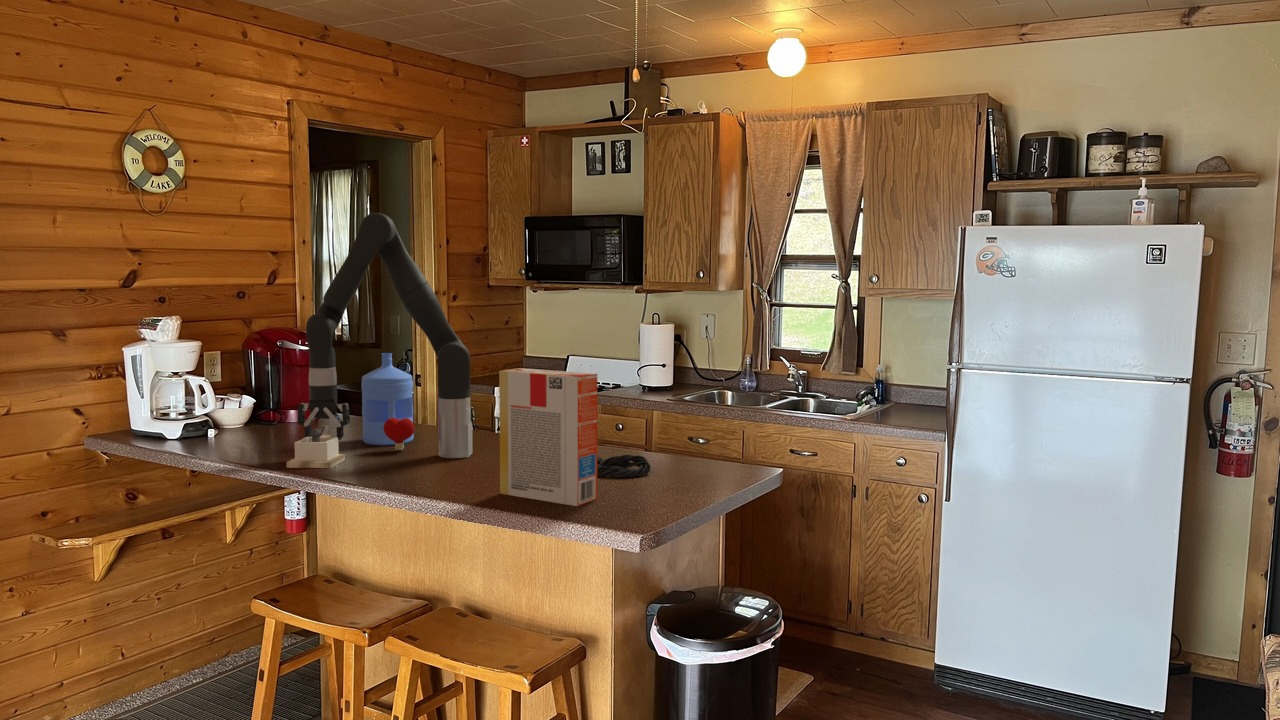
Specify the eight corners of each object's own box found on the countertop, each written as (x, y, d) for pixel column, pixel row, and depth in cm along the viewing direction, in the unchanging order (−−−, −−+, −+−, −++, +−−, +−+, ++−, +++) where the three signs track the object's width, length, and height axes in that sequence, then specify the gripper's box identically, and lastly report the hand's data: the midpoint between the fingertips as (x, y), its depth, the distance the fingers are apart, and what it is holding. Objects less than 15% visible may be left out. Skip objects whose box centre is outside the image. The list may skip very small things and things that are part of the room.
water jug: (359, 439, 297) (357, 352, 295) (408, 435, 304) (407, 350, 301) (366, 447, 283) (364, 356, 281) (418, 443, 290) (417, 354, 287)
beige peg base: (345, 459, 265) (344, 425, 264) (330, 468, 253) (329, 432, 252) (303, 458, 265) (302, 424, 264) (286, 467, 253) (285, 431, 252)
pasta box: (597, 499, 220) (597, 373, 217) (577, 506, 213) (577, 376, 211) (520, 487, 232) (520, 368, 229) (500, 493, 225) (499, 370, 222)
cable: (658, 472, 252) (658, 456, 252) (638, 482, 240) (638, 465, 239) (601, 466, 259) (601, 451, 259) (578, 476, 246) (579, 460, 246)
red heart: (418, 449, 280) (417, 416, 279) (410, 453, 273) (409, 420, 273) (388, 448, 281) (388, 416, 280) (380, 453, 274) (379, 419, 273)
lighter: (310, 455, 270) (309, 428, 270) (306, 454, 271) (305, 427, 270) (329, 451, 276) (329, 424, 276) (325, 450, 277) (325, 424, 277)
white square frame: (342, 452, 267) (342, 435, 267) (327, 460, 255) (327, 442, 254) (311, 451, 268) (311, 434, 267) (294, 460, 255) (294, 442, 255)
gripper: (352, 381, 267) (353, 437, 268) (303, 381, 267) (304, 436, 269) (343, 384, 259) (344, 442, 261) (292, 384, 260) (294, 441, 261)
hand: (324, 439), depth 265 cm, fingers open, 8 cm apart
